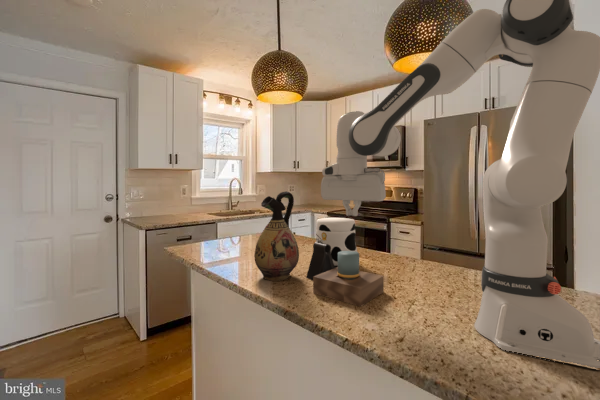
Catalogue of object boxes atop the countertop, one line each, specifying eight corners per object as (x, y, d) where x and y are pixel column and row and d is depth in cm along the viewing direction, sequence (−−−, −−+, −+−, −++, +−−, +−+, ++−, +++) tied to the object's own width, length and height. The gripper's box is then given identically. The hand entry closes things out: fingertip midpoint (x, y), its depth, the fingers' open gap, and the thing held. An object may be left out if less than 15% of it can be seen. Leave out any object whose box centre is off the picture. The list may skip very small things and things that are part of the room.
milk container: (305, 264, 127) (304, 219, 126) (333, 257, 139) (333, 216, 138) (337, 273, 115) (337, 224, 113) (366, 264, 126) (366, 220, 125)
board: (383, 292, 95) (383, 275, 95) (360, 306, 85) (360, 288, 84) (338, 281, 106) (338, 266, 105) (313, 292, 95) (313, 276, 95)
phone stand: (317, 282, 105) (317, 246, 104) (306, 277, 110) (306, 243, 109) (337, 277, 110) (337, 243, 110) (325, 273, 115) (326, 240, 114)
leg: (363, 292, 96) (363, 252, 95) (352, 298, 91) (352, 257, 90) (344, 287, 100) (345, 249, 99) (333, 293, 95) (333, 253, 94)
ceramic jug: (269, 287, 100) (268, 192, 98) (247, 275, 112) (245, 191, 110) (311, 277, 110) (311, 191, 108) (286, 267, 122) (286, 190, 120)
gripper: (389, 168, 89) (389, 216, 90) (329, 170, 102) (329, 213, 103) (379, 167, 84) (379, 219, 85) (317, 169, 97) (318, 214, 98)
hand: (351, 215), depth 94 cm, fingers closed
